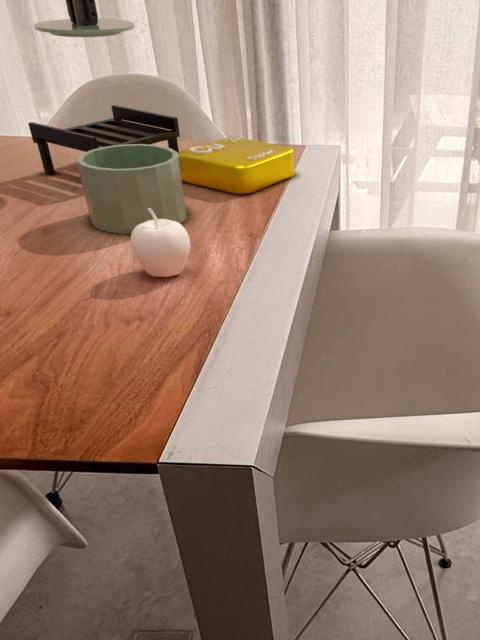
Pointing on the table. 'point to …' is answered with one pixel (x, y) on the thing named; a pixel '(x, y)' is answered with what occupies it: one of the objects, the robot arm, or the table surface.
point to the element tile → (236, 165)
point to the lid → (83, 26)
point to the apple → (160, 246)
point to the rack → (107, 133)
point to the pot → (131, 186)
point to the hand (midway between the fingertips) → (84, 23)
